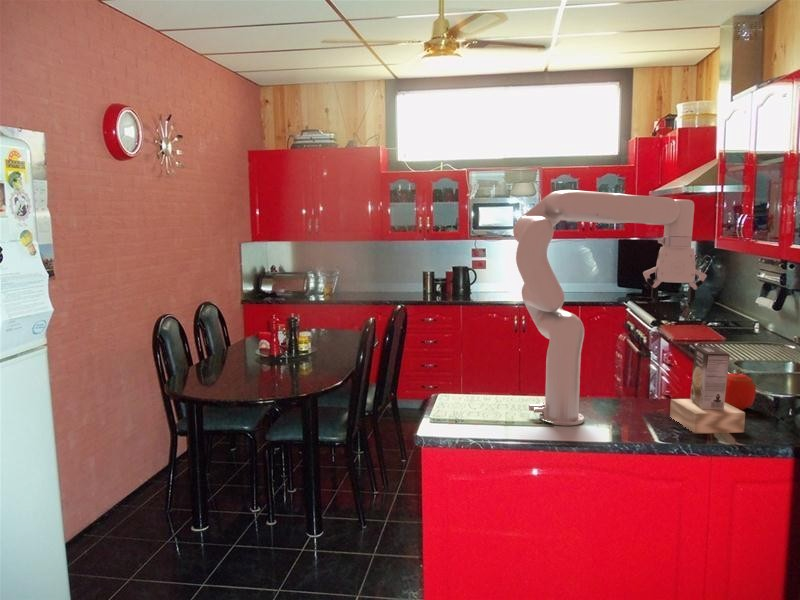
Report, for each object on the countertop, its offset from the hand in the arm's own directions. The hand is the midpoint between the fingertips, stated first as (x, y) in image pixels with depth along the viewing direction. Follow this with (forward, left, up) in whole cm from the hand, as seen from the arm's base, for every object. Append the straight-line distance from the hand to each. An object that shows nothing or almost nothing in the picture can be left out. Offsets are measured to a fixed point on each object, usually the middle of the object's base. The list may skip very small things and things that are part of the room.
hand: (672, 301), depth 189 cm
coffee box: (+9, -8, -28) cm, 31 cm away
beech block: (+9, -8, -34) cm, 36 cm away
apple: (+23, +10, -34) cm, 43 cm away
